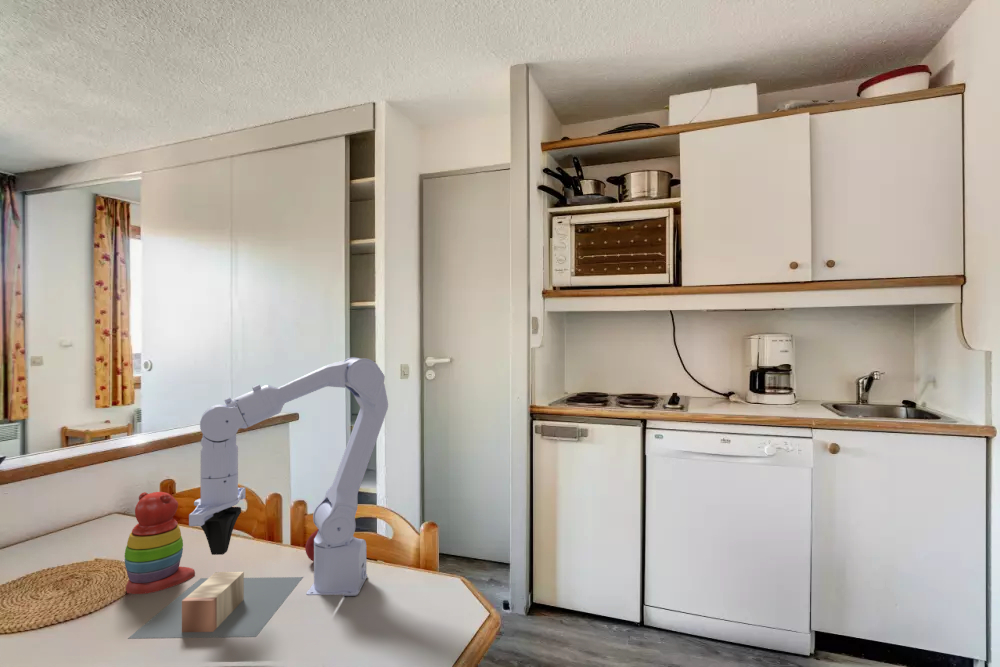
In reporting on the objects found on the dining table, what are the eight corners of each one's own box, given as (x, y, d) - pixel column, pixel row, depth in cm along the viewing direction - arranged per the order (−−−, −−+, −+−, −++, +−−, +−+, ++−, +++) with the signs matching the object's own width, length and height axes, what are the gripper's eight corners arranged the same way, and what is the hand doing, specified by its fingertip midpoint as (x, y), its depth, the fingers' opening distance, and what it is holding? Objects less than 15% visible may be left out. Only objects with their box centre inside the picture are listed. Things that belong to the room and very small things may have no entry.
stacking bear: (200, 575, 102) (200, 486, 102) (154, 600, 92) (154, 502, 92) (158, 569, 105) (158, 483, 105) (108, 593, 95) (109, 497, 95)
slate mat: (303, 579, 100) (303, 577, 100) (255, 639, 80) (255, 636, 80) (200, 580, 100) (200, 578, 100) (127, 641, 80) (127, 638, 80)
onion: (325, 571, 104) (325, 532, 104) (299, 568, 105) (299, 529, 105) (339, 559, 109) (339, 522, 109) (315, 556, 110) (315, 520, 111)
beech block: (243, 571, 91) (213, 600, 81) (243, 599, 91) (213, 631, 81) (215, 572, 91) (181, 600, 81) (215, 600, 91) (181, 632, 81)
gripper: (218, 464, 95) (218, 536, 95) (169, 486, 81) (169, 572, 81) (256, 464, 95) (256, 536, 95) (214, 486, 81) (214, 572, 81)
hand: (219, 553), depth 88 cm, fingers closed
